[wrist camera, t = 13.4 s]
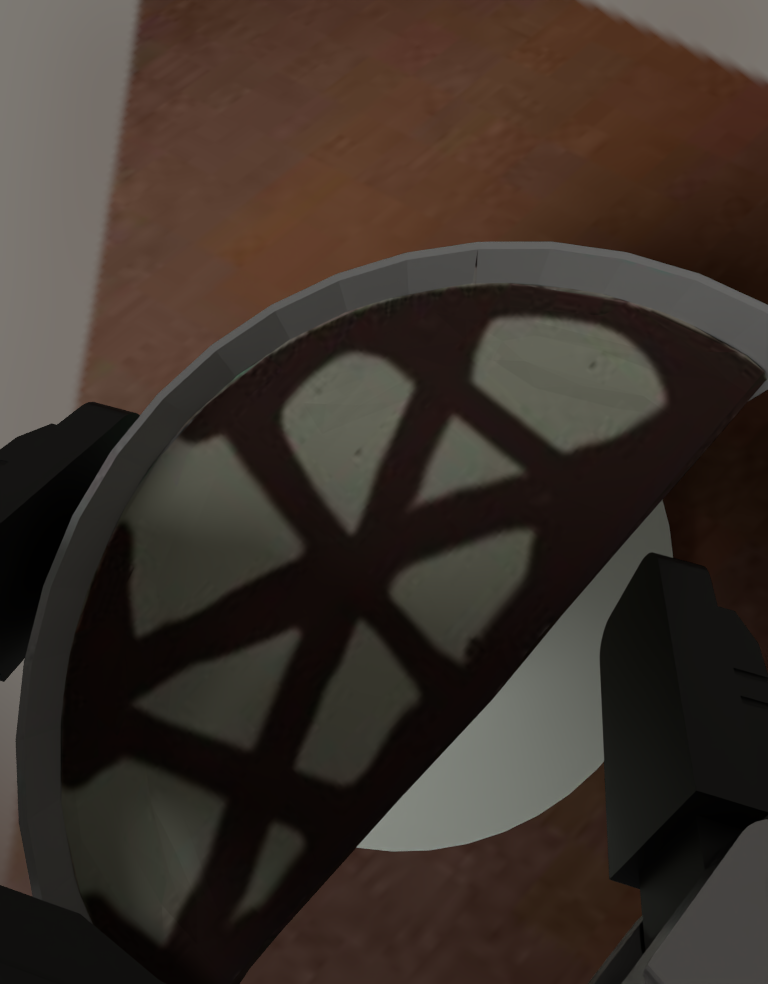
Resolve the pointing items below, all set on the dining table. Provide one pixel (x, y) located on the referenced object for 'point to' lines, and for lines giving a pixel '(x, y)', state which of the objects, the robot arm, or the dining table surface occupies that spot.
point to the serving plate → (525, 726)
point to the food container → (343, 569)
